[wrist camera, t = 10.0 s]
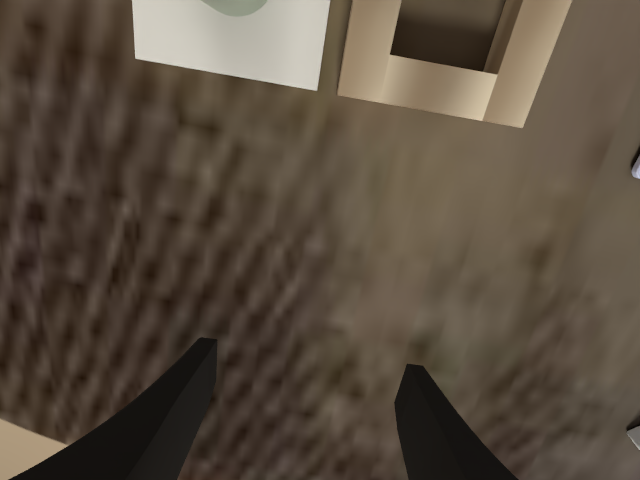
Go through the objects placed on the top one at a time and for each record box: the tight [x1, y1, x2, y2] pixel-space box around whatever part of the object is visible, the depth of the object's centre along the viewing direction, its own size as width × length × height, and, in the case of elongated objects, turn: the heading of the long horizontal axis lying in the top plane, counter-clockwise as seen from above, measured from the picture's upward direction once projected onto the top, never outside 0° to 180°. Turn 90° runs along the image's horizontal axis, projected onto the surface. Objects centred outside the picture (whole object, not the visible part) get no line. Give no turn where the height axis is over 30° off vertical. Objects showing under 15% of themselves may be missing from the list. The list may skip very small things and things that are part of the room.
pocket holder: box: [337, 0, 572, 128], centre depth 15 cm, size 9×9×2 cm
